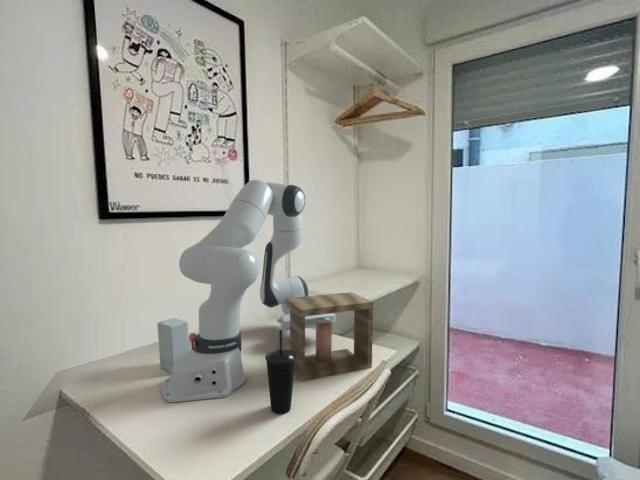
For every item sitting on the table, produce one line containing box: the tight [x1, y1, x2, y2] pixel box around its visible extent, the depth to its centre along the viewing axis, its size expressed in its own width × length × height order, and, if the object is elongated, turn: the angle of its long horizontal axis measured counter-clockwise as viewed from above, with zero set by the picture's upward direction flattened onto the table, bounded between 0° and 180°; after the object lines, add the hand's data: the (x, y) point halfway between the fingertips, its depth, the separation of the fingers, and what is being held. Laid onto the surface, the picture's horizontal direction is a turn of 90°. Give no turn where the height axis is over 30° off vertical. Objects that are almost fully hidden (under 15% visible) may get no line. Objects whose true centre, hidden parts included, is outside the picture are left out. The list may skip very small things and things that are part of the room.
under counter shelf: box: [285, 291, 374, 382], centre depth 110 cm, size 24×14×21 cm, turn 113°
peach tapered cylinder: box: [314, 320, 333, 361], centre depth 113 cm, size 5×5×12 cm
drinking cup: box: [264, 329, 296, 415], centre depth 85 cm, size 8×8×20 cm
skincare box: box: [156, 317, 190, 374], centre depth 107 cm, size 8×6×15 cm
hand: (315, 326), depth 120 cm, fingers open, 8 cm apart
